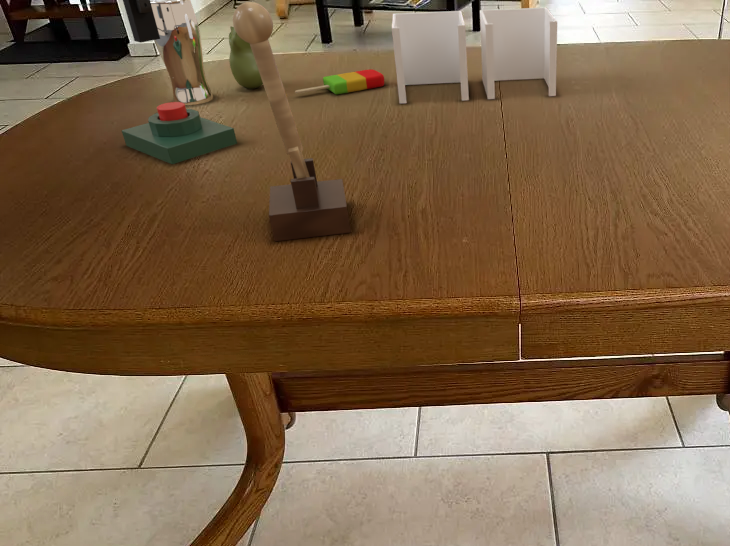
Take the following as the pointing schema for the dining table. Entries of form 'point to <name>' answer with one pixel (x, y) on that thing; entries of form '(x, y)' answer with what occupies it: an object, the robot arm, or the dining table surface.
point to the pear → (243, 62)
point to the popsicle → (350, 82)
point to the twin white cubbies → (498, 48)
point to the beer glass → (181, 50)
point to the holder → (308, 207)
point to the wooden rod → (270, 76)
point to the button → (172, 111)
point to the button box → (179, 137)
